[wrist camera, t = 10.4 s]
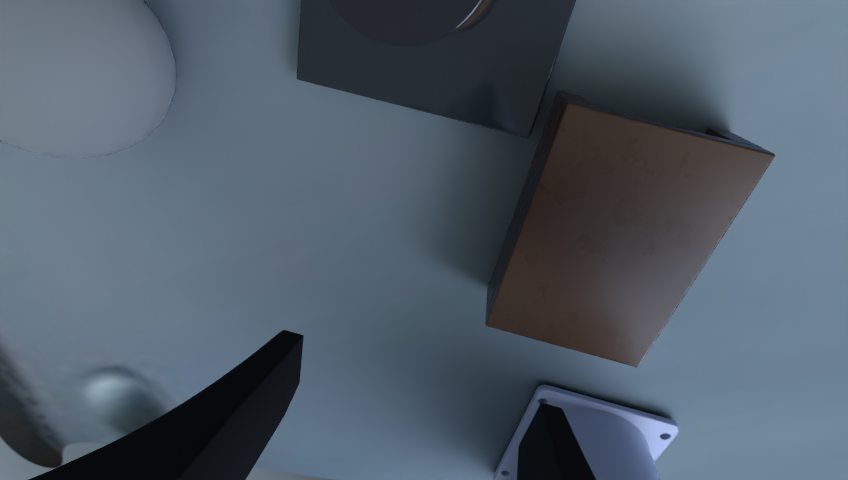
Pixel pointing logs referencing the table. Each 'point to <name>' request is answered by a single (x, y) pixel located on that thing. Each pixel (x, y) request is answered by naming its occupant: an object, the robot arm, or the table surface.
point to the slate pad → (445, 63)
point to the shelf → (615, 227)
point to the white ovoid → (82, 75)
